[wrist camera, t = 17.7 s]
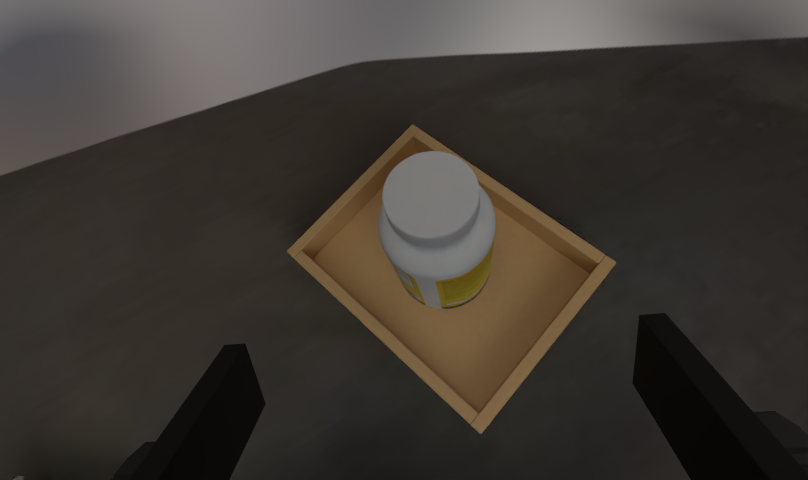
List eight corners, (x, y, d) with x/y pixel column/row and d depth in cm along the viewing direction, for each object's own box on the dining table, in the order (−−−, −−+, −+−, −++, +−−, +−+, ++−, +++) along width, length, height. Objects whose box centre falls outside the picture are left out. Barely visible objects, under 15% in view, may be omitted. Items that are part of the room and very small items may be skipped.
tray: (300, 263, 33) (286, 251, 31) (416, 144, 36) (412, 123, 33) (479, 432, 27) (480, 434, 25) (604, 274, 30) (617, 262, 27)
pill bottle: (506, 252, 31) (527, 169, 20) (459, 329, 29) (454, 283, 18) (430, 211, 33) (411, 115, 22) (382, 281, 31) (337, 214, 20)
